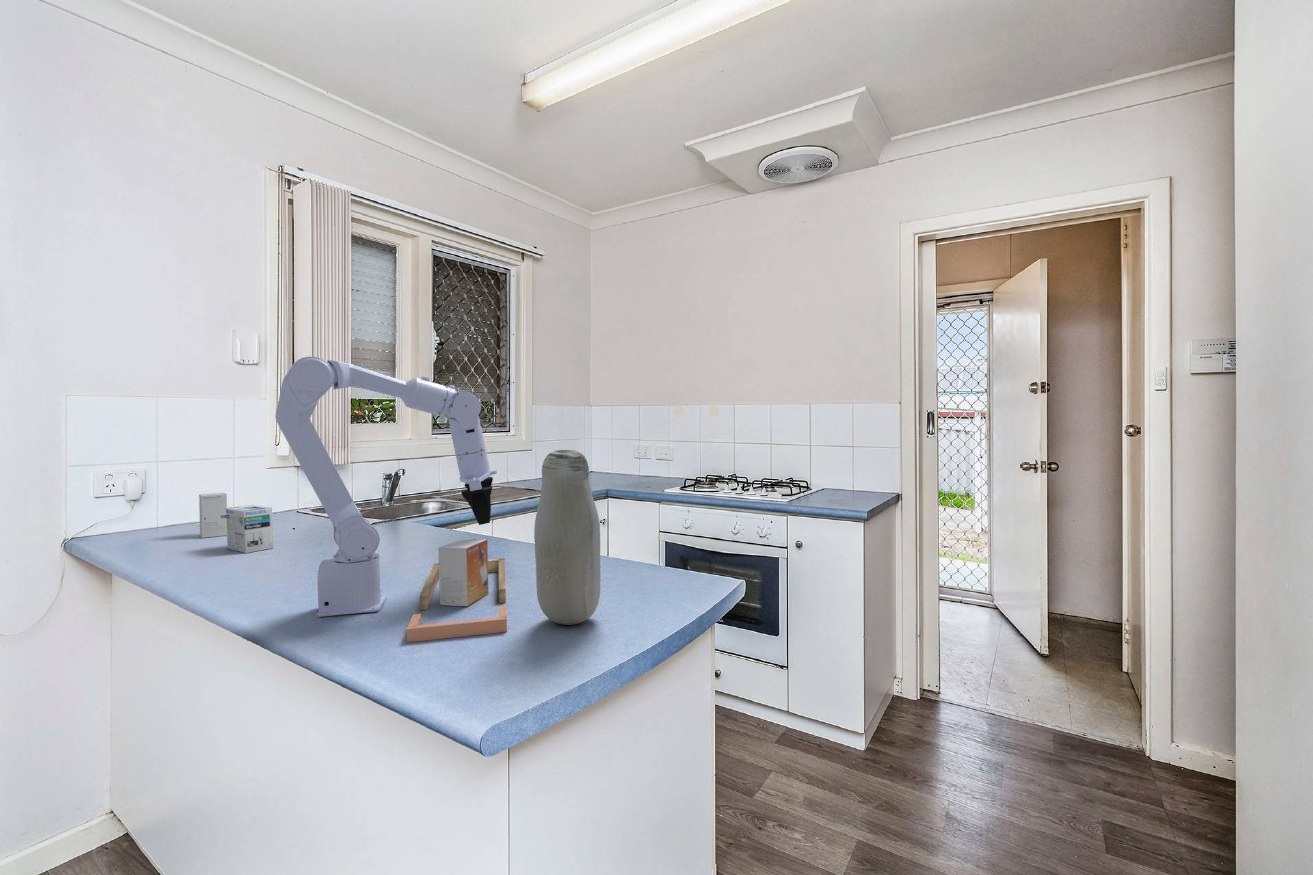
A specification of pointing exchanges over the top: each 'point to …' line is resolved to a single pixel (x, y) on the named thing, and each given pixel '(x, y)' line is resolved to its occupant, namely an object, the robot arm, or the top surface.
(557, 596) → the grey bottle
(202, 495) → the skincare box
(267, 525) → the light bulb box
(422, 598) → the u-shaped frame
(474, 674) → the top surface
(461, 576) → the small box
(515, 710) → the top surface
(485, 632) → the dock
